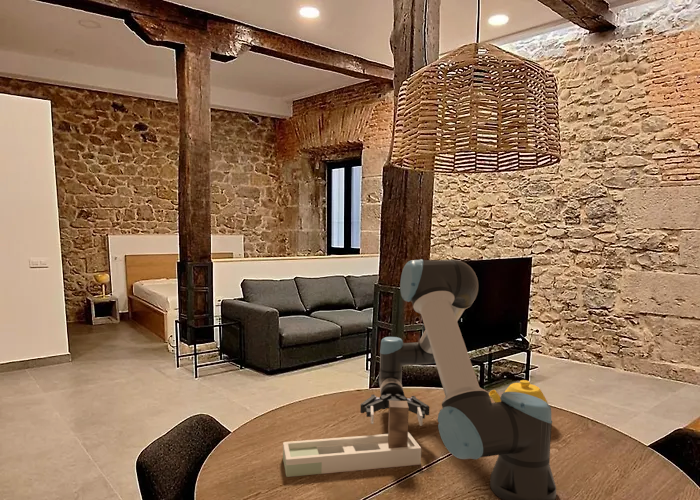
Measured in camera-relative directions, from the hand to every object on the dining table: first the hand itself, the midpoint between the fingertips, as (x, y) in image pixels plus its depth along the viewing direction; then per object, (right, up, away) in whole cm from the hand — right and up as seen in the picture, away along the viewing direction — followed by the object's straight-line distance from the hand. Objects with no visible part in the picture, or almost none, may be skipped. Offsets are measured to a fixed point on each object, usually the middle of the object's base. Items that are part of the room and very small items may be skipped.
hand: (396, 420), depth 135 cm
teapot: (+42, -10, +25) cm, 50 cm away
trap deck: (-13, -10, -4) cm, 16 cm away
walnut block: (0, -7, -1) cm, 7 cm away
